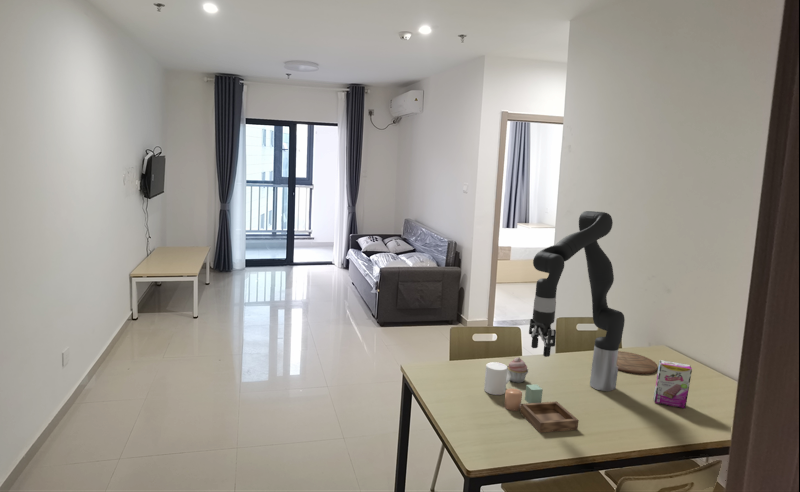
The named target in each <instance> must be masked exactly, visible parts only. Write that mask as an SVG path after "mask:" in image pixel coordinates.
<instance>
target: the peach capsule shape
mask: <svg viewBox="0 0 800 492" xmlns="http://www.w3.org/2000/svg"><path fill="white" fill-rule="evenodd" d="M522 398H523V391H521V390H519V389H517V388H511V387H509V388H506V390H505V393H504V404H503V407H504V409H506V410H508V411H512V412H517V411H521V404H522V400H523V399H522Z"/></svg>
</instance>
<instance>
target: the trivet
mask: <svg viewBox="0 0 800 492" xmlns="http://www.w3.org/2000/svg"><path fill="white" fill-rule="evenodd" d="M616 366H618V372H622V373H627V374H631V373H632V374H633V375H649V374H650V375H651V374H654V373H656V372H658V364H657V363H656V361H654V360H652V359H651V358H649V357H646V356H645V355H642V354H637V353H633V352H629V351H622V350H618V357H617V365H616Z"/></svg>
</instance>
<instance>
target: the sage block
mask: <svg viewBox="0 0 800 492" xmlns="http://www.w3.org/2000/svg"><path fill="white" fill-rule="evenodd" d="M542 399H543V388H542V387H540V386H539V384H537V383H535V384H534V383H533V384H526V385H525V396H524V400H525V401H526V403H542V401H543V400H542Z"/></svg>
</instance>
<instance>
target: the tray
mask: <svg viewBox="0 0 800 492" xmlns="http://www.w3.org/2000/svg"><path fill="white" fill-rule="evenodd" d="M519 411H520V414H521V415H522V416H523V418H524V419H526V420H527V421H528V423H530V424H531V426H533V428H535V429H536V430H537V432H538V433H539V434H541V433H551V432H552V433H553V432H564V431H565V432H568V431H578V429H579V428H578V427H579V422H580V421H579V419H578V418H577V417H575V416H574V415H573V414H572V413H571V412H570V411H569V410H568V409H566V408H565V407H564V406H563V405H562V404H560V403H559V402H558V401H544V402H542V401H541V403H528V402H526V403H521V409H520V410H519Z"/></svg>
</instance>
